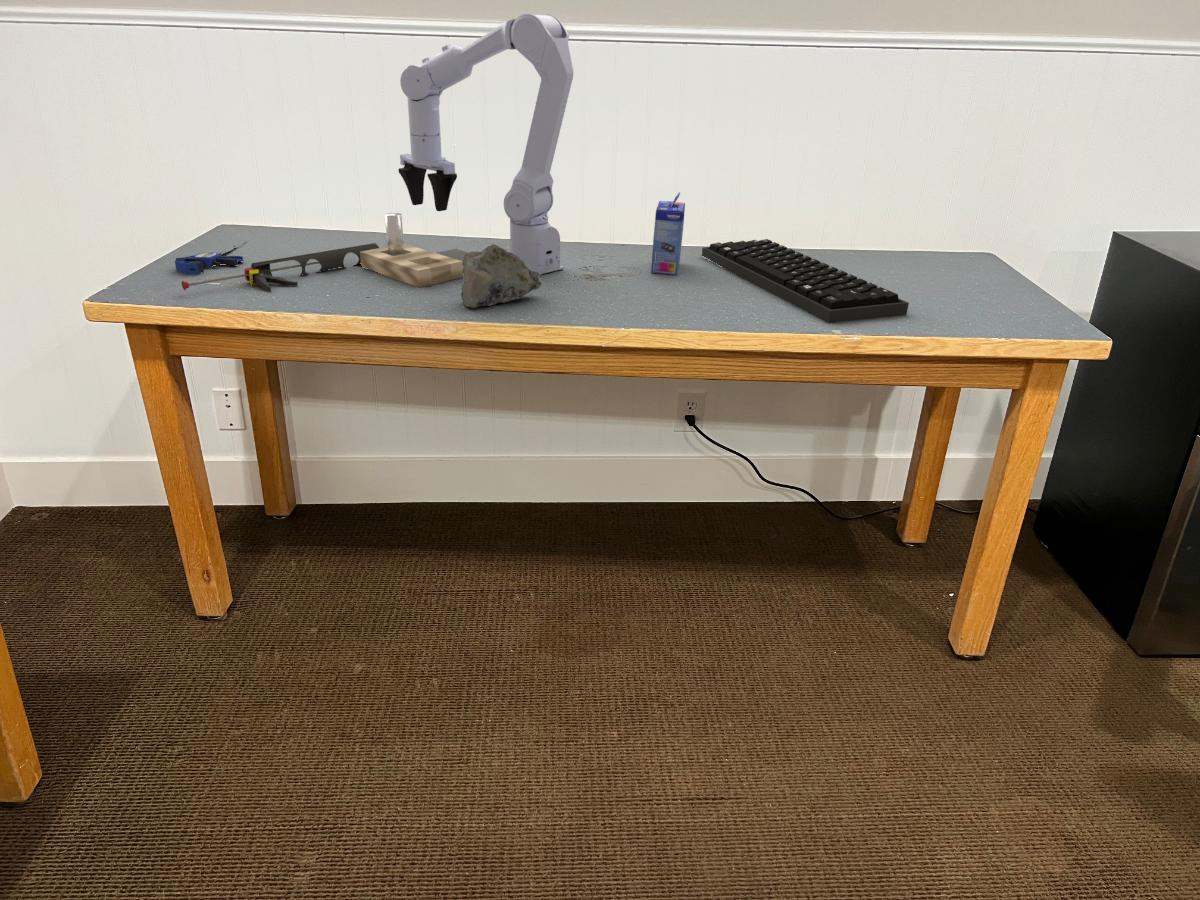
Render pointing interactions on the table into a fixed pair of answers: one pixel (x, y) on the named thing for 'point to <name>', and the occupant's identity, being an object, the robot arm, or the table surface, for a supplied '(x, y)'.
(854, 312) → the computer keyboard
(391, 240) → the peg
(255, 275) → the caulking gun
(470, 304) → the mineral rock
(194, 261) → the bar clamp
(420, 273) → the hole block
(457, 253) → the mat
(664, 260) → the ink cartridge box
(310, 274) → the table surface
